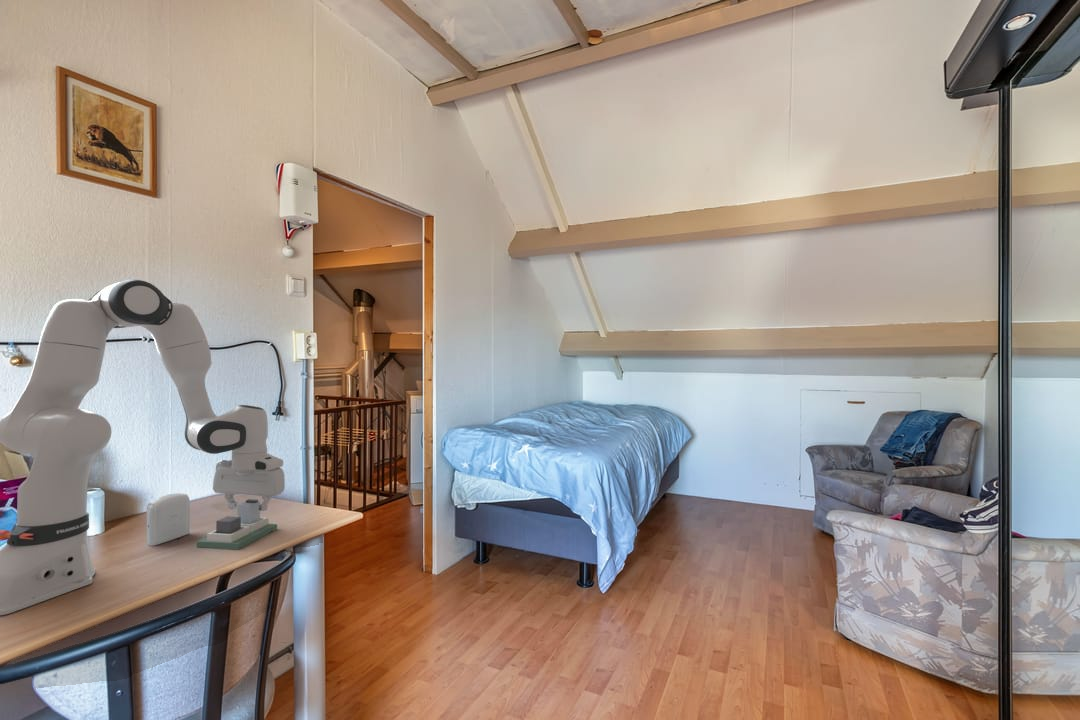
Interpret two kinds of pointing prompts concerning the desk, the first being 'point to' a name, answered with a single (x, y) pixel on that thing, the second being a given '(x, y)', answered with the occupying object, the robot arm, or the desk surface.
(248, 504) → the plug
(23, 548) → the robot arm
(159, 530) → the photo printer
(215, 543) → the header board
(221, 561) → the desk surface
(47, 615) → the desk surface
